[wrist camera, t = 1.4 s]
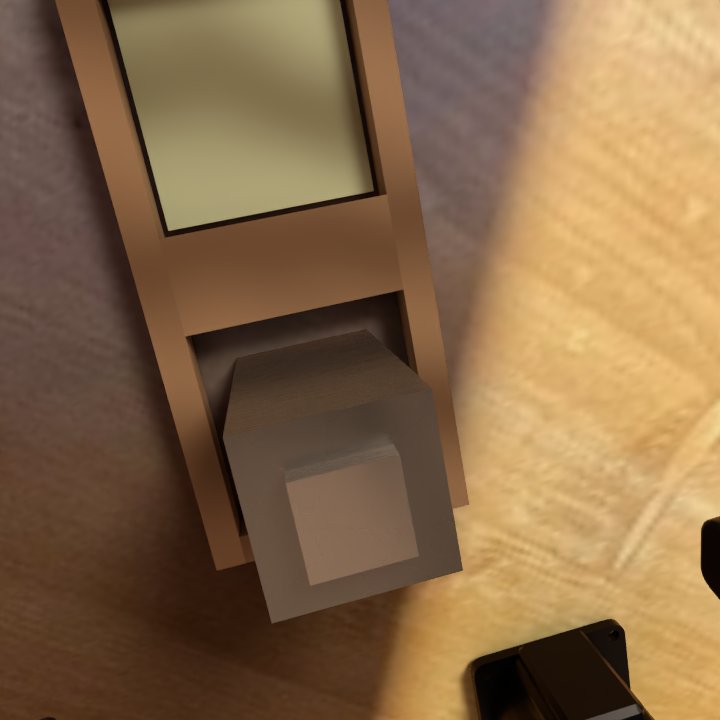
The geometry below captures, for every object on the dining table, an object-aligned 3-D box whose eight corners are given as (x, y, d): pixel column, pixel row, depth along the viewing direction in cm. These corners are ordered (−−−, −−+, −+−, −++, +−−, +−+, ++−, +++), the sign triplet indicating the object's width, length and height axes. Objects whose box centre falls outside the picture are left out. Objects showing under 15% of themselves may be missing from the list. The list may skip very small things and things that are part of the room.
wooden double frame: (458, 490, 22) (468, 504, 21) (218, 552, 21) (217, 570, 20) (363, -83, 18) (370, -105, 17) (53, -40, 17) (38, -60, 15)
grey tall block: (389, 448, 21) (471, 585, 13) (266, 479, 21) (272, 641, 13) (366, 329, 20) (440, 395, 12) (236, 358, 20) (220, 447, 12)
